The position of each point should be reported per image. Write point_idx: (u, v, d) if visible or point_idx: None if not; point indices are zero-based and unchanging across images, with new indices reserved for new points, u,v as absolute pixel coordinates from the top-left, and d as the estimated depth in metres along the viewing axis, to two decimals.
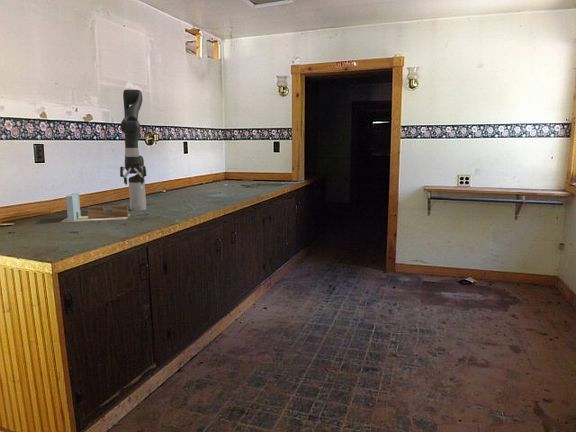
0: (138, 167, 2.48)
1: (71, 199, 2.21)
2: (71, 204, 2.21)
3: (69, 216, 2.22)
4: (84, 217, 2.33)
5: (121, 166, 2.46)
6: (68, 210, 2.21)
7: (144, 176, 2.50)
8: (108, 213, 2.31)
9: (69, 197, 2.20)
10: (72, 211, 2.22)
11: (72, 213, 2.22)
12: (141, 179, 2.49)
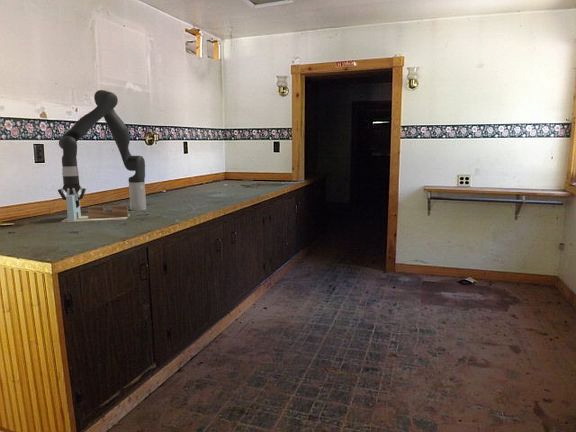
0: (78, 189, 2.26)
1: (71, 199, 2.21)
2: (71, 204, 2.21)
3: (69, 216, 2.22)
4: (84, 217, 2.33)
5: None
6: (68, 210, 2.21)
7: (79, 198, 2.27)
8: (108, 213, 2.31)
9: (69, 197, 2.20)
10: (72, 211, 2.22)
11: (72, 213, 2.22)
12: (76, 202, 2.27)
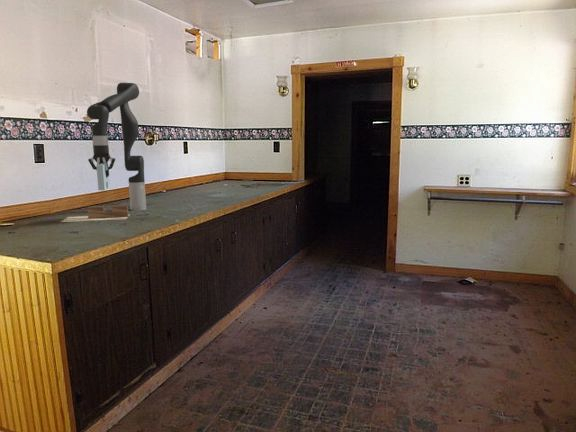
0: (107, 158, 2.27)
1: (101, 168, 2.22)
2: (101, 173, 2.22)
3: (99, 185, 2.23)
4: (84, 217, 2.33)
5: None
6: (99, 179, 2.22)
7: (109, 168, 2.28)
8: (108, 213, 2.31)
9: (99, 166, 2.21)
10: (102, 180, 2.23)
11: (102, 182, 2.23)
12: (106, 172, 2.28)
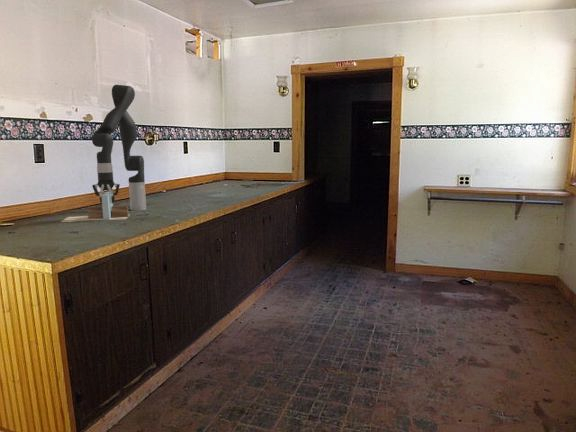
0: (112, 185, 2.30)
1: (106, 198, 2.24)
2: (106, 203, 2.25)
3: (104, 215, 2.26)
4: (84, 217, 2.33)
5: None
6: (103, 209, 2.25)
7: (115, 194, 2.31)
8: None
9: (104, 196, 2.24)
10: (107, 210, 2.26)
11: (107, 212, 2.26)
12: (112, 198, 2.31)
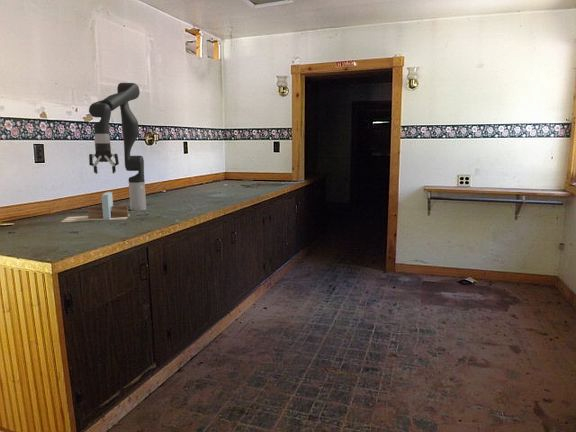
0: (109, 155, 2.27)
1: (106, 198, 2.24)
2: (106, 203, 2.25)
3: (104, 215, 2.26)
4: (84, 217, 2.33)
5: None
6: (103, 209, 2.25)
7: None
8: None
9: (104, 196, 2.24)
10: (107, 210, 2.26)
11: (107, 212, 2.26)
12: (113, 168, 2.28)
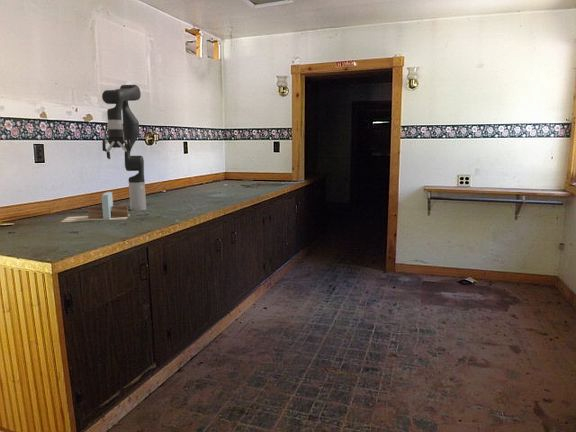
0: (122, 141, 2.32)
1: (106, 198, 2.24)
2: (106, 203, 2.25)
3: (104, 215, 2.26)
4: (84, 217, 2.33)
5: None
6: (103, 209, 2.25)
7: (128, 150, 2.34)
8: None
9: (104, 196, 2.24)
10: (107, 210, 2.26)
11: (107, 212, 2.26)
12: (125, 154, 2.33)
